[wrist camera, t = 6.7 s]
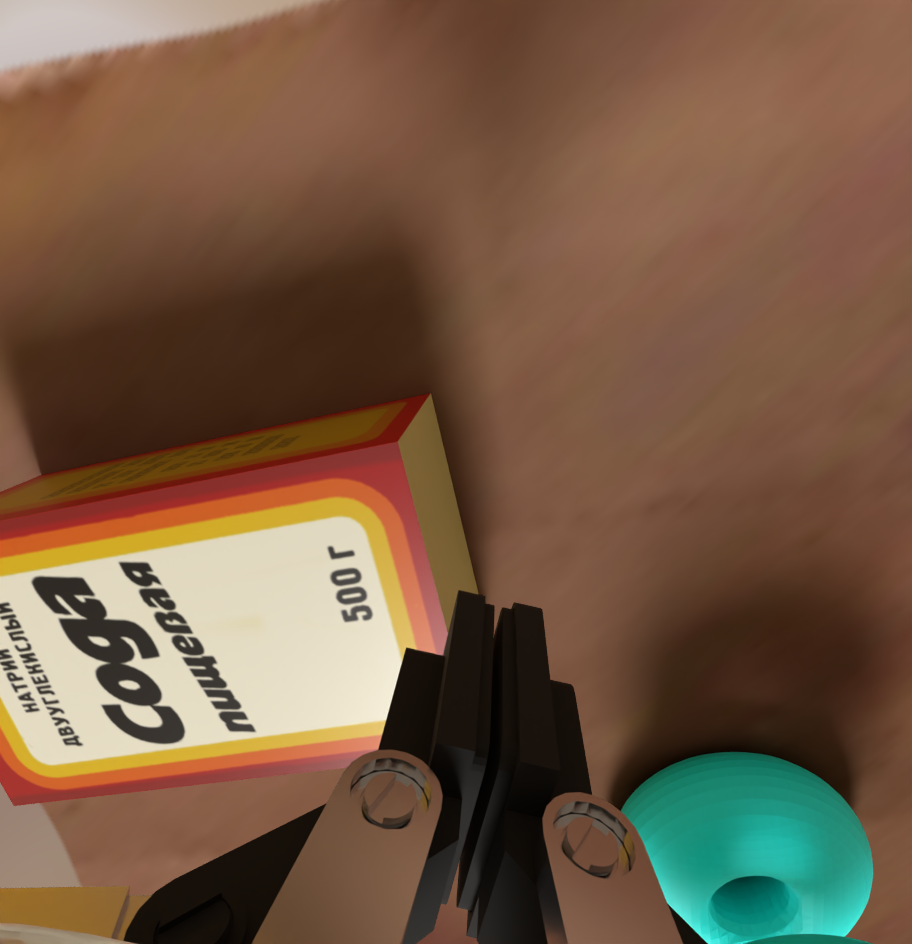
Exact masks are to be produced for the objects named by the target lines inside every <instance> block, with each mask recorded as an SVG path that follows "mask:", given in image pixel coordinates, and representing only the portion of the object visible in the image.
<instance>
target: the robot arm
mask: <svg viewBox="0 0 912 944" xmlns="http://www.w3.org/2000/svg"><path fill="white" fill-rule="evenodd" d="M493 636H494V638H493ZM459 860H460V863H459ZM458 863H459V875H458V888H457V907H458V908H463V909H467V910H468V920H467V936H469V937H473V938H477V941H478V943H479V944H708V943H707V942H706V941H705V940H704V939H703V938H702V937H701V936H700V935H699V934H698V933H697V932H696V931H695V930H694V929H693V928H692V927H691V926H690V925H689V924H688V923H687V922H686V921H685V920H684V919H683V918H682V917H681V916H680V915H679V914H678V913H677V912H676V911H675V910H674V909H673V908H672V907H671V906H670V905H669V904H668V903H667V901H666V899H665V896H664V894H663V891H662V889H661V886H660V884H659V881H658V878H657V876H656V873H655V871H654V868H653V866H652V863H651V861H650V858H649V855H648V853H647V850H646V848H645V845H644V843H643V841H642V839H641V837H640V835H639V833H638V831H637V830H636V828H635V826H634V825H633V824H632V823H631V822H630V821H629V819H628V818H627V817H626V816H625V815H624V814H623V813H622V812H621V811H619V810H618V809H617V808H615V807H614V806H613V805H612V804H610V803H609V802H607V801H605V800H603V799H600V798H598V797H596V796H594V795H592V792H591V786H590V780H589V774H588V768H587V762H586V756H585V750H584V744H583V738H582V732H581V726H580V721H579V715H578V709H577V703H576V697H575V692H574V688H573V686H572V685H571V684H567V683H562V682H558V681H553V680H550V674H549V665H548V656H547V647H546V638H545V629H544V620H543V612H542V609H541V608H537V607H533V606H528V605H524V604H519V603H515V602H514V604H513V606H512V609H508V608H502V609H501V612H500V616H499V619H498V623H497V627H496V631H495V635H494V605H490V604H485V596H483V595H479V594H474V593H470V592H466V591H461V590H458V593H457V597H456V602H455V606H454V610H453V614H452V619H451V623H450V627H449V631H448V636H447V640H446V644H445V648H444V653H443V655H438V654H434V653H429V652H425V651H420V650H416V649H412V648H407V647H406V650H405V653H404V657H403V660H402V664H401V668H400V671H399V675H398V679H397V682H396V686H395V690H394V693H393V697H392V701H391V704H390V708H389V712H388V715H387V719H386V723H385V726H384V730H383V733H382V737H381V741H380V744H379V748H378V750H376V751H373V752H369V753H366V754H363V755H362V756H360V757H359V758H357V759H356V760H354V761H353V762H351V764H350V765H349V766H348V767H347V769H346V770H345V771H344V772H343V774H342V776H341V778H340V780H339V781H338V783H337V785H336V787H335V789H334V791H333V793H332V794H331V796H330V798H329V800H328V802H327V803H326V804H324V805H322V806H320V807H318V808H316V809H314V810H312V811H310V812H308V813H306V814H304V815H302V816H300V817H298V818H296V819H294V820H292V821H290V822H288V823H286V824H284V825H282V826H280V827H278V828H276V829H274V830H272V831H270V832H268V833H266V834H264V835H262V836H260V837H258V838H256V839H254V840H252V841H250V842H248V843H246V844H244V845H242V846H240V847H238V848H236V849H234V850H232V851H230V852H228V853H226V854H224V855H222V856H220V857H218V858H216V859H214V860H212V861H210V862H208V863H206V864H204V865H202V866H200V867H198V868H196V869H194V870H192V871H190V872H188V873H186V874H184V875H182V876H180V877H178V878H176V879H174V880H173V881H171V882H170V883H168V884H167V885H165V886H163V887H162V888H160V889H159V890H157V891H156V892H155V893H154V894H153V895H129V889H130V886H96V887H42V888H0V944H416V943H417V942H419V941H420V940H421V939H423V938H424V937H425V936H426V935H428V934H429V933H430V932H432V931H433V930H434V926H435V923H436V919H437V915H438V912H439V908H440V905H441V904H445V905H446V904H447V902H448V898H449V895H450V891H451V888H452V884H453V881H454V877H455V874H456V870H457V867H458Z"/></svg>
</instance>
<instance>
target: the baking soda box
mask: <svg viewBox="0 0 912 944" xmlns="http://www.w3.org/2000/svg"><path fill="white" fill-rule="evenodd" d="M458 590H461V591H466V592H470V593H474V594H478V589H477V585H476V581H475V577H474V573H473V568H472V564H471V560H470V556H469V552H468V547H467V543H466V539H465V535H464V531H463V526H462V522H461V518H460V514H459V509H458V505H457V501H456V497H455V493H454V488H453V484H452V480H451V476H450V472H449V467H448V463H447V459H446V455H445V451H444V446H443V442H442V438H441V434H440V430H439V425H438V421H437V417H436V413H435V409H434V404H433V400H432V396H431V393H429V394H425V395H420V396H415V397H410V398H406V399H401V400H396V401H391V402H387V403H382V404H377V405H372V406H368V407H363V408H358V409H353V410H349V411H344V412H339V413H334V414H330V415H325V416H320V417H315V418H311V419H306V420H301V421H296V422H291V423H287V424H282V425H277V426H272V427H268V428H263V429H258V430H253V431H249V432H244V433H239V434H234V435H230V436H225V437H220V438H215V439H211V440H206V441H201V442H196V443H192V444H187V445H182V446H177V447H173V448H168V449H163V450H158V451H154V452H149V453H144V454H139V455H135V456H130V457H125V458H120V459H116V460H111V461H106V462H101V463H97V464H92V465H87V466H82V467H78V468H73V469H68V470H63V471H59V472H54V473H49V474H44V475H40V476H38V477H36V478H33V479H31V480H28V481H26V482H24V483H21V484H19V485H16V486H14V487H11V488H9V489H7V490H4V491H2V492H0V783H1V784H2V786H3V788H4V789H5V791H6V793H7V795H8V796H9V798H10V800H11V802H12V803H13V805H14V806H17V805H26V804H35V803H43V802H52V801H61V800H69V799H78V798H87V797H95V796H104V795H113V794H121V793H130V792H139V791H147V790H156V789H165V788H173V787H182V786H191V785H199V784H208V783H217V782H225V781H234V780H243V779H251V778H260V777H269V776H277V775H286V774H295V773H303V772H312V771H321V770H329V769H338V768H347V767H348V766H349V765H350V764H351V762H353V761H354V760H356V759H357V758H359V757H360V756H362V755H363V754H366V753H369V752H373V751H376V750H378V748H379V744H380V741H381V737H382V733H383V730H384V726H385V723H386V719H387V715H388V712H389V708H390V704H391V701H392V697H393V693H394V690H395V686H396V682H397V679H398V675H399V671H400V668H401V664H402V660H403V657H404V653H405V650H406V647H407V648H412V649H416V650H420V651H425V652H429V653H434V654H438V655H443V653H444V648H445V644H446V640H447V636H448V631H449V627H450V623H451V619H452V614H453V610H454V606H455V602H456V597H457V593H458Z"/></svg>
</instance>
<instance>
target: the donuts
mask: <svg viewBox="0 0 912 944" xmlns="http://www.w3.org/2000/svg"><path fill="white" fill-rule="evenodd" d="M621 812H622V813H623V814H624V815H625V816H626V817H627V818H628V819H629V821H630V822H631V823H632V824H633V825H634V826H635V828H636V830H637V831H638V833H639V835H640V837H641V839H642V841H643V843H644V845H645V848H646V850H647V853H648V855H649V858H650V861H651V863H652V866H653V868H654V871H655V873H656V876H657V878H658V881H659V884H660V886H661V889H662V891H663V894H664V896H665V899H666V901H667V903H668V904H669V905H670V906H671V907H672V908H673V909H674V910H675V911H676V912H677V913H678V914H679V915H680V916H681V917H682V918H683V919H684V920H685V921H686V922H687V923H688V924H689V925H690V926H691V927H692V928H693V929H694V930H695V931H696V932H697V933H698V934H699V935H700V936H701V937H702V938H703V939H704V940H705V941H706V942H707V943H708V944H872V943H868V942H865V941H861V940H857V939H853V938H848V937H845V936H846V935H847V934H848V933H849V931H850V930H851V929H852V928H853V926H854V925H855V924H856V922H857V921H858V919H859V918H860V916H861V914H862V913H863V911H864V909H865V907H866V905H867V902H868V899H869V896H870V891H871V886H872V880H873V863H872V854H871V849H870V845H869V842H868V839H867V836H866V834H865V831H864V829H863V826H862V825H861V823H860V821H859V819H858V817H857V816H856V814H855V813H854V811H853V810H852V809H851V807H850V806H849V804H848V803H847V802H846V801H845V800H844V798H843V797H842V796H841V795H840V794H839V793H838V792H836V791H835V790H834V789H833V788H832V787H831V786H830V785H829V784H828V783H826V782H825V781H824V780H822V779H821V778H819V777H818V776H816V775H815V774H813V773H811V772H810V771H808V770H806V769H804V768H802V767H800V766H798V765H796V764H793V763H791V762H789V761H786V760H783V759H780V758H776V757H773V756H769V755H763V754H758V753H748V752H721V753H711V754H704V755H699V756H695V757H691V758H688V759H685V760H683V761H680V762H677V763H675V764H672V765H670V766H668V767H666V768H664V769H663V770H661V771H659V772H657V773H656V774H654V775H653V776H651V777H650V778H649V779H647V780H646V781H645V782H644V783H642V784H641V785H640V786H639V787H638V788H637V789H636V790H635V791H634V792H633V793H632V795H631V796H630V797H629V798H628V800H627V801H626V802H625V804H624V806H623V808H622V809H621Z"/></svg>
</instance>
